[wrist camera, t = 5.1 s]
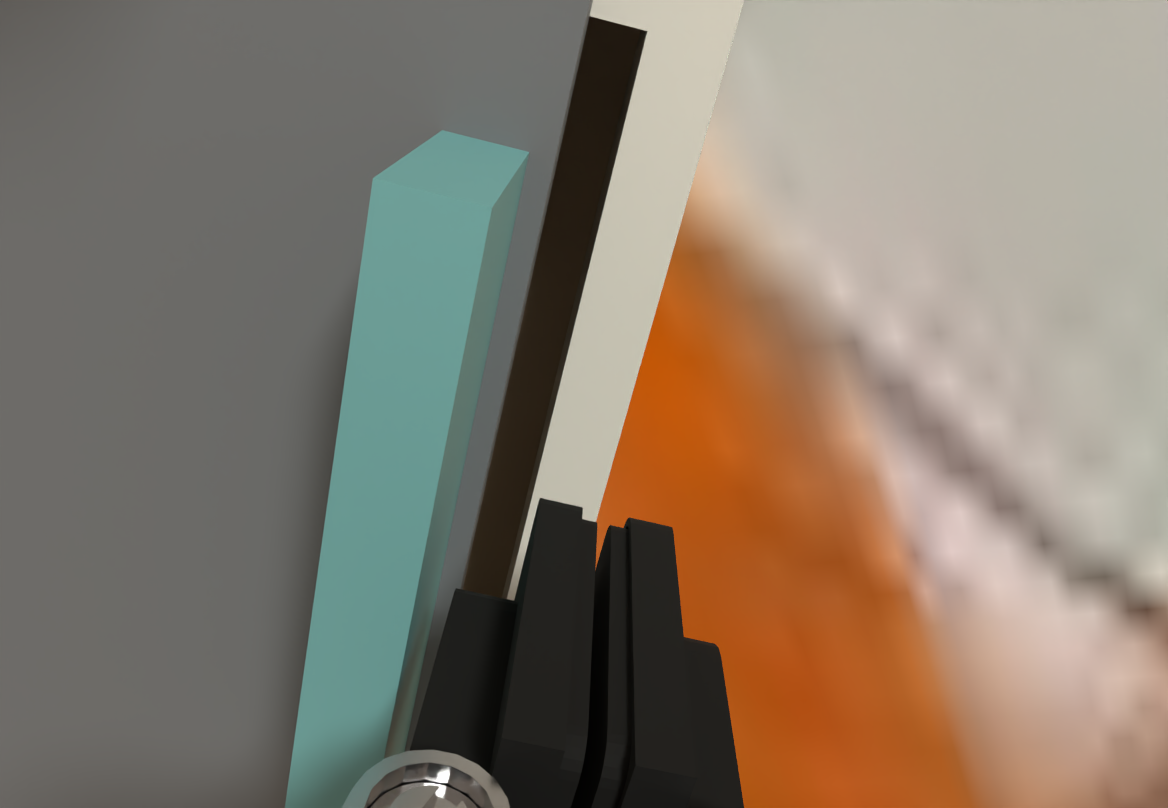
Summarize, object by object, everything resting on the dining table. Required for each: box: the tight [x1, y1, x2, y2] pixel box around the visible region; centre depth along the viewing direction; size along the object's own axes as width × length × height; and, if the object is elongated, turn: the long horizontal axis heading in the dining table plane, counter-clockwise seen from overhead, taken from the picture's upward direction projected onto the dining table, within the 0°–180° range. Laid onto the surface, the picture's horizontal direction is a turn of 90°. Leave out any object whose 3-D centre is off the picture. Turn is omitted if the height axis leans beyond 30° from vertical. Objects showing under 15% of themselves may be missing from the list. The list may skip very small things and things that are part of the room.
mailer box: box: [462, 0, 744, 601], centre depth 16 cm, size 20×15×6 cm
